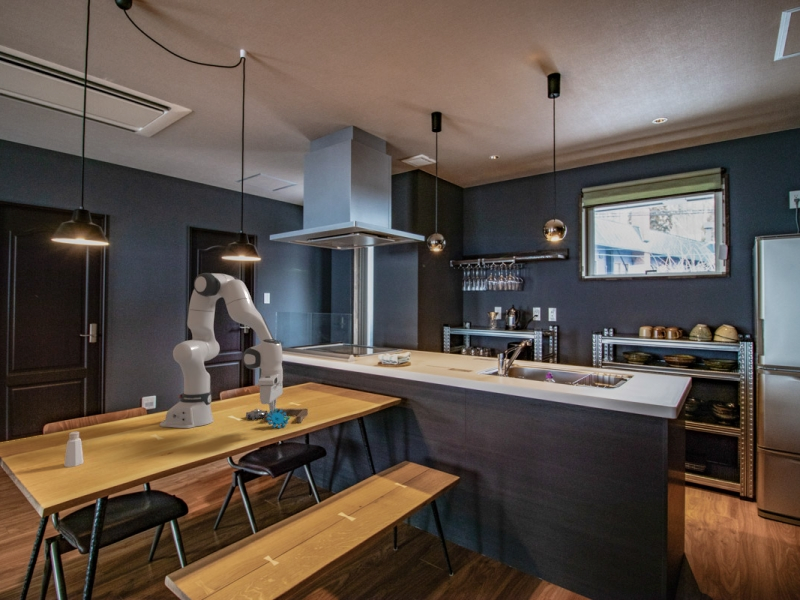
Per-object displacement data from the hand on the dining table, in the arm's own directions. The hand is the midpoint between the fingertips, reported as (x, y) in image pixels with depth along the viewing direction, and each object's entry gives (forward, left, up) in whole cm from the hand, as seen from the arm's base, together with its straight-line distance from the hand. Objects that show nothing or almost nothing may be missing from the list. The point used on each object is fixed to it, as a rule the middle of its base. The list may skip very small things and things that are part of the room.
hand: (272, 409), depth 180 cm
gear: (-1, +11, -11) cm, 16 cm away
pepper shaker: (-59, -34, -11) cm, 68 cm away
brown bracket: (-1, +24, -10) cm, 26 cm away
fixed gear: (-16, +26, -10) cm, 32 cm away
